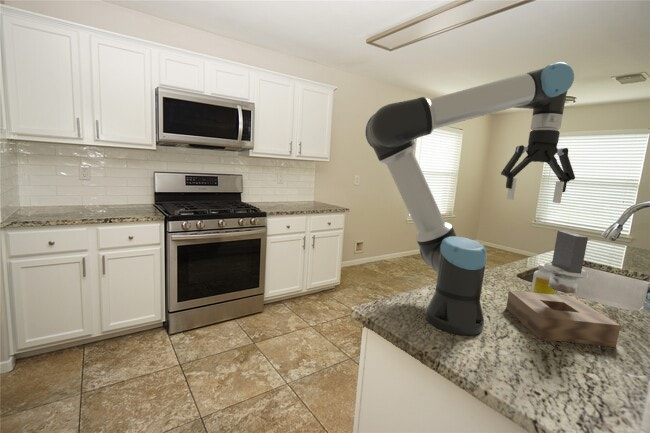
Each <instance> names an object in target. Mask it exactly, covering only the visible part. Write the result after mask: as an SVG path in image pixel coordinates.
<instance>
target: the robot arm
mask: <svg viewBox="0 0 650 433" xmlns="http://www.w3.org/2000/svg"><path fill="white" fill-rule="evenodd" d="M574 80H575V73H574V69H573V68H572V67H571V66H570V65H569V64H567V63H565V62H561V61H560V62H555V63H552V64H548V65H547V66H545V67H542V68H539V69H536V70H532V71H528V72H525V73H522V74H517V75H514V76H509V77H506V78H502V79H499V80H496V81H492V82H487V83H485V84H481V85H477V86H474V87H470V88H466V89H463V90H459V91H455V92H451V93H448V94H445V95H440V96H437V97H433V98H430V99H429V98H428V97H425V96H421V97H417V98H413V99H407V100H404V101H398V102H393V103H388V104H386V105H383V106H382V107H380V108H379V109H378V110H377V111H376V112H375V113H373V114H372V115H371V116H370V118H369V119H368V121H367V123H366V126H365V133H364V134H365V139H366V141H367V143H368V144H369V146H370V147H371V148H372V149H373V150H374V153H375V155H376V157H377V159H378V161H379V162H380V163H381V164H385V165H386V167H387V169H388V170H389V171H388V172H389V174H390V175H391V177H392V179H393V182H394V183H395V185H396V187H397V190H398V192H399V194H400V196H401V199H402V200H403V202H404V205H405V207H406V209H407V212H408V214H409V215H410V216H409V217H410V218H411V220H412V223H413V224H414V226H415V229H416V231H417V233H416V237H415V240H416V241H417V244H418V246H419V253H420V256H421V258H422V260H423V261H424V262H425V263H426V265H427V266H429V267H431V269H432V270H434V271H435V272H436V273H437V275H436V282H435V291H434V294H433V296H432V297H431V300H430V302H429V304H428V305H427V307H426V314H425V318H426V320H427V321H428V322H429V324H431V325H432V326H434V327H436V328H438V329H440V330H442V331H444V332H448V333H451V334H455V335H461V336H462V335H463V336H474V335H475V336H476V335H478V334H480V333H482V332H483V331H484V324H485V319H484V314H483V310H482V308H483V307H482V305H481V296H482V289H483V284H484V277H485V270H486V265H487V263H488V261H487V254H488V252H487V249H486V247H485V245H483V244H482V243H480V242H479V241H477V240H473V239H471V238H467V237H464V236H457V233H456V232H455V229H454V227H453V225H452V223H449V222H447V221H445V219H444V218H443V215H442V212H441V211H440V208H439V206H438V204H437V202H436V200H435V197H434V196H433V192H432V191H431V188H430V187H429V184H428V182H427V180H426V177H425V175H424V173H423V171H422V169H421V166H420V164H419V162H418V160H417V157H416V156H415V153H414V149H415V147H416V143H415V142H416V141H415V140H416V139H419V138H421V137H424V136H429V135H431V134H432V133H433V131H434V130H435V129H439V128H442V127H443V128H444V127H447V126H450V125H454V124H457V123H461V122H465V121H468V120H473V119H476V118H479V117H484V116H487V115H492V114H494V113H498V112H501V111H505V110H509V109H512V108H514V109H528V110H529V109H530V110H532V117H531V121H530V122H531V124H530V130H531V131H529V136H528V142H527V144H528V145H527V146H525V145H523V144H522V145H517V146H516V147H515V150H514V154H513V155H512V156H511V158H509V161H508V162H507V163H506V165H505V166H504V167H503V169H502V171H501V172H500V175H501V176H504V177H506V183H505V188H506V189H507V195H506V200H511V201H514V199H515V192H516V186H517V178H515V177H516V176H517V175H519V173H520V172H522V171H523V170H524V169H525V168H526V167H528V165H529V164H530V163H533V162H534V163H536V162H537V163H538V162H539V163H546V164H547V165H548V166H549V167H550V168H551V170H552V171H553V173H554V175H556V177H557V179H558V180H559V181H557V180H556V181H555V187H554V192H553V198H552V203H555V204H561V202H562V197H563V196H562V195H563V193H565V192H566V189H567V184H568V183H569V182H570V181H575V179H576V176H575V172H574V169H573V166H572V164H571V161H570V157H569V148H568V147H562V148H558V143H559V140H560V134H561V133H560V131H559V130H561V127H562V121H563V116H564V115H563V114H564V109H565V103H566V99H567V94H568V91H569V89H571V88H572V86H573V83H574ZM525 152H526V156H525V157H524V158H523V159H522V161H521V162H520V163H518V161H519V160H520V158H521V156H522V155H523V154H524V153H525ZM555 155H557V156H558V159H559V162H560V164H561V165H560V164H559V163H558V159H556V156H555ZM517 163H518V164H517ZM516 164H517V165H516ZM515 165H516V166H515Z"/></svg>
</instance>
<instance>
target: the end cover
mask: <svg viewBox="0 0 650 433" xmlns="http://www.w3.org/2000/svg"><path fill="white" fill-rule="evenodd" d="M588 239H589V236H585V235H581V234H578V233H575V232H573V231H572V232H571V231H566V230H565V231H564V230H557V233H556V239H555V244H554V250H553V255H552V260H551V261H552V262H550V263H549V262H547V263H544V264H545V265H544V269H545V270H547V271H549V272H551V275H550V280H549V287H550V288H552V289H554V290H555V291H557V292H561V293H566V294H576V293H577V290H578V289H577V288H578V284H579V280H580V279H587V278H588V277H589V272H588V271H587V270H585V269H583V266H584V261H585V255H586V250H587V245H588V241H589V240H588Z"/></svg>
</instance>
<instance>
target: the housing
mask: <svg viewBox="0 0 650 433" xmlns="http://www.w3.org/2000/svg"><path fill="white" fill-rule="evenodd" d="M506 310H507V311H509V313H511V314H512V315H513V316H514V317H515V318H516V319H517V320H518V321H519V322H521V324H523V326H525V327H526V328H527V330H529V331H530V332H531V333H532V334H533V335H534V336H535V337H536V338H537V339H539V340H547V341H557V342H567V343H575V344H585V345H593V346H602V347H612V348H617V344H618V339H619V334H620V331H621V325H620V324H619V323H618V322H616V321H614V320H613V319H611V318H609V317H607V316H606V315H604V314H602V313H601V312H599V311H597V310H596V309H594V308H593V307H591V306H589V305H587V304H586V303H584V302H582V301H581V300H579V299H577V298H575V297H574V296H568V295H560V294H554V295H551V294H541V293H531V291H521V290H520V291H518V290H508V295H507V301H506Z"/></svg>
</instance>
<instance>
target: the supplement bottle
mask: <svg viewBox="0 0 650 433" xmlns="http://www.w3.org/2000/svg"><path fill="white" fill-rule="evenodd" d="M545 264H546V263H539V264H538V267H537V268H538V270H535V271H534V273H533V276H532V282H531V288H530V292H531V293H541V294H551V295H555V291H556V290H554V289H552V288H550V287H549V280H550V275H551V272H549V271H547V270H545V269H544V265H545Z"/></svg>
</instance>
